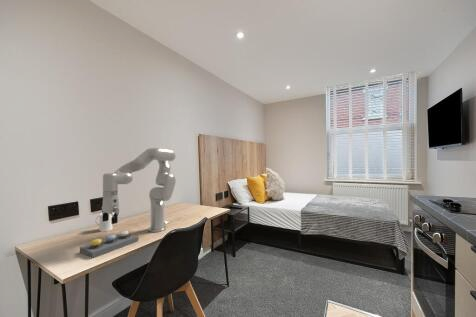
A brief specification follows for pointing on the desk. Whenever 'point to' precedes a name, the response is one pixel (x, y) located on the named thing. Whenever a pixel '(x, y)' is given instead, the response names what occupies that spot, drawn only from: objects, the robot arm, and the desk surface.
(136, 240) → the control board
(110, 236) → the slate button
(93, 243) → the mustard button
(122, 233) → the cream button
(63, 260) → the desk surface
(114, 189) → the robot arm
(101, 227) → the mug
